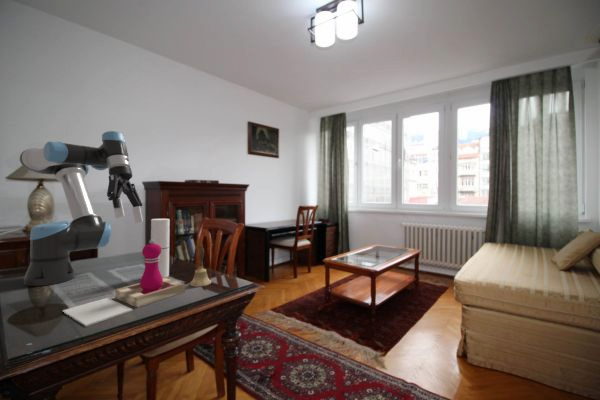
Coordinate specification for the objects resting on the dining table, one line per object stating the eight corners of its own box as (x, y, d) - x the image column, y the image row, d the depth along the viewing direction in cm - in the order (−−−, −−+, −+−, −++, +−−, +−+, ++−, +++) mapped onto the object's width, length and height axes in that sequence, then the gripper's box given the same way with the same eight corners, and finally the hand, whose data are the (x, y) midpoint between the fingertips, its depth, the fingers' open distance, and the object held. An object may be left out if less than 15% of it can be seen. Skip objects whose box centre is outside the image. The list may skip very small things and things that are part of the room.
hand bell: (187, 287, 105) (188, 246, 104) (191, 280, 113) (192, 242, 112) (210, 286, 106) (210, 246, 106) (212, 279, 114) (213, 242, 114)
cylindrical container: (150, 279, 113) (150, 220, 112) (150, 274, 119) (151, 218, 118) (169, 277, 116) (169, 219, 115) (168, 272, 122) (169, 218, 122)
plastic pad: (62, 312, 81) (62, 310, 81) (107, 299, 91) (107, 297, 91) (85, 326, 73) (85, 324, 73) (132, 310, 83) (132, 309, 83)
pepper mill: (152, 299, 92) (153, 241, 91) (134, 297, 93) (135, 240, 93) (167, 292, 99) (167, 238, 98) (150, 290, 100) (150, 237, 100)
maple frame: (115, 297, 92) (115, 289, 92) (162, 284, 107) (162, 276, 107) (137, 307, 85) (137, 298, 85) (184, 291, 100) (184, 283, 100)
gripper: (110, 154, 95) (122, 211, 91) (144, 175, 119) (154, 221, 115) (88, 160, 93) (98, 217, 90) (127, 180, 118) (136, 226, 114)
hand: (130, 219), depth 102 cm, fingers open, 13 cm apart
